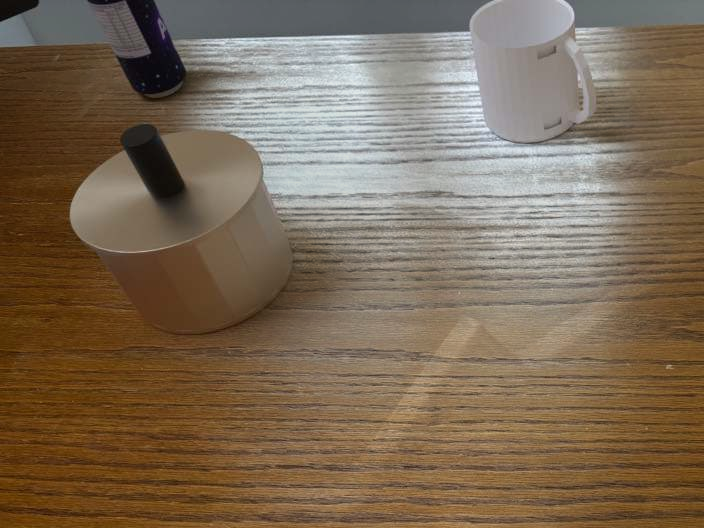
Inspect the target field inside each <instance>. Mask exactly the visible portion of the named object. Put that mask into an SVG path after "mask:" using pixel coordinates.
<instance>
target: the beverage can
mask: <svg viewBox="0 0 704 528" xmlns="http://www.w3.org/2000/svg"><path fill="white" fill-rule="evenodd" d="M86 1H87V4H88V5H89V8H90V9H91V11H92V13H93V15H94V17H95V19H96V21H97V23H98V25H99V27H100V29H101V30H102V33H103V35H104V37H105V38H106V40H107V43H108V44H109V47H110V48H111V50H112V51H113V54H114V55H115V58H116V59H117V62H118V64H119V65H120V67H121V69H122V72H123V73H124V76H125V77H126V78H127V80H128V83H129V84H130V86H131V89H132V90H133V91H134V92H136V93H138V94H140V95H141V94H142V95H144V96H145V97H148V98H153V99H157V98H164V97H168V96H170V95H172V94H175V93H176V92H177V91H178V90H179V89H180V88H181V87H182V85H183V84H182V83H183V82H184V80H185V77H186V76H187V70H186V68H185V65H184V63H183V61H182V58H181V56H180V54H179V52H178V49H177V47H176V45H175V43H174V41H173V39H172V37H171V35H170V32H169V29H168V28H167V25H166V23H165V21H164V19H163V17H162V15H161V12H160V10H159V8H158V6H157V4H156V1H155V0H86ZM175 91H176V92H175Z"/></svg>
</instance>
